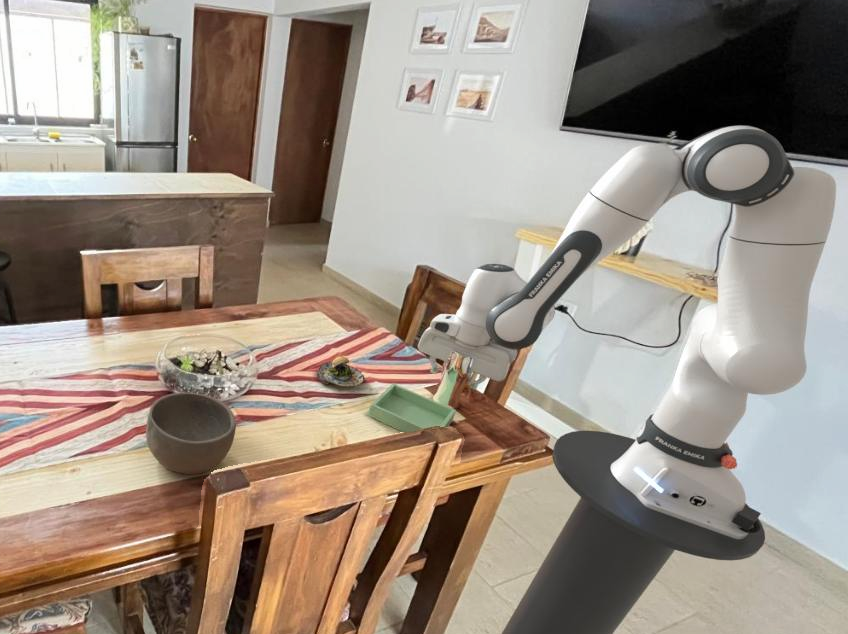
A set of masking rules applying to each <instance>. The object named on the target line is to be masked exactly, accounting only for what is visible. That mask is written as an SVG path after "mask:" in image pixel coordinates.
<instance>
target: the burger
mask: <svg viewBox="0 0 848 634" xmlns="http://www.w3.org/2000/svg"><path fill="white" fill-rule="evenodd" d="M349 363H350V359H349V358H348V357H346V356H343V355H342V356H341V355H339V356H337V357H335V358H334V359H333V360H332V361H329V362H328V361H327V362H325V363H322V364H320V366H319V367H318V371H317V373H316V376H317V378H318V380H319V381H320V382H321V383H322V384H323V385H324V386H327V385H328V384H332V385H334V386H338V387H343V388H346V387H348V388H349V387H350V388H351V387H355V386H360V385H361V384H362V383H363V382H364V381H365V380H366V379H365V378H366V377H365V376H364V374H362V372H361V371H360V370H359V369H358V368H356V367H354V366H351V365H350V364H349ZM348 364H349V365H348Z"/></svg>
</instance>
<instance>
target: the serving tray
mask: <svg viewBox="0 0 848 634" xmlns="http://www.w3.org/2000/svg"><path fill="white" fill-rule="evenodd" d="M456 413H457V409H456V408H455V409H452V408H450V407H447V406H445V405H443V404H440V403H438V402H436V401H434V400H433V399H432V398H429V397H426V396H424V395H422V394H420V393H417V392H415V391H412V390H410V389H407V388H405V387H403V386H401V385H399V384H396V383H394V382H393V383H391V384H390V385H389V386H388V387H387V388H386V389H385V390H384V391H383V392H382V393H381V394H380V395H379V396H378V397H376V399H375V400H374V401H373V402H372V403H371V404H370V407H369V410H368V413H367V416H369V417H370V418H373V419H374V420H376V421H379V422H382V423H383V424H385V425H387V426H389V427H391V428H393V429H396V430H398V431H400V432H402V433H404V434H406V433H410V432H414V431H418V430H421V429H423V428H427V427H433V426H440V427H448V428H449V426H450V425H451V424H452V422H453V421H454V419H455V415H456Z"/></svg>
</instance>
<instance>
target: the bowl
mask: <svg viewBox="0 0 848 634" xmlns="http://www.w3.org/2000/svg"><path fill="white" fill-rule="evenodd" d="M236 428H237V422H236V417H235V414H234V413H233V411H232V410H231V408H230V407H229V406H228V405H227V404H225V403H224V402H222V401H221V400H219V399H217V398H215V397H212V396H210V395H208V394H202V393H199V392H198V393H197V392H190V391H189V392H185V391H181V392H174V393H170V394H166V395H163V396H161V397H159V398H157V400H155V401H154V402H153V403H152V404H151V406H150V408H149V411H148V415H147V418H146V428H145V438H146V445H147V447H148V449H149V451H150V453H151V455H153V457H154V458H155V459H156V461H157V462H158V463H159V464H160V465H161V466H163V467H164V468H165V469H167V470H170V471H172V472H176V473H180V474H186V475H195V474H202V473H206V472H209V471H210V470H212V469H214V468H215V467H218V465H219V464H221V462H222V461H223V460H224V459H225V458H226V456H227V455H228V454H229V452H230V450H231V448H232V445H233V443H234V439H235V435H236Z"/></svg>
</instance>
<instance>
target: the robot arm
mask: <svg viewBox="0 0 848 634" xmlns="http://www.w3.org/2000/svg"><path fill="white" fill-rule="evenodd" d="M784 149H785V148H784V147H783V145H782V144H781V143H780V141H779V140H778V139H777V138H776V137H775V136H773V135H772V134H770V133H768V132H767V131H765V130H763V129H761V128H758V127H755V126H751V125H729V126H722V127H718V128H715V129H711V130H709V131H706V132H704V133H702V134H701V135H699V136H697V137H694V138H693V139H691V140H689V141H687V142H684V143H682V144H681V145H679V146H676V147H675V148H671V147H669V146H665V145H662V144H657V143H646V144H641V145H637V146H635V147H633V148H631V149H630V150H629V151H627V152H626V153H625V154H624V155H623V156H622V157H620V159H618V160H617V161H616V162H615V163H614V164H613V165H612V166H611V167H610V168H609V169H608V170H607V171H606V172H605V173H603V175H602V176H601V177H600V178H599V179H598V180H597V182H596V183H595V184H594V185H593V186H592V188H590V190H589V191H588V192H587V194H585V196H584V197H583V199H582V200H581V202H580V203H579V205H578V206H577V207H576V209H575V211H574V212H573V214H572V215H571V217H570V219H569V221H568V223H567V224H566V226H565V228H564V230H563V232H562V234H561V235H560V237H559V239H558V241H557V243H556V245H555V247H554V248H553V250H552V252H551V253H550V255H549V256H548V258H547V259H546V260H545V261H544V263H542V265H541V266H540V267H539V268H538V269H537V271H536V272H535V273H534V274H533V275H532V277H531V278H530V279H529V280H528V281H525V280H524V279H523V278H522V277H521V276H520V275H519V274H518V272H517V271H516V269H515V268H513V267H512V266H509V265H506V264H500V263H487V264H484V265H480V266H478V267H476V268H475V269H474V270H473V272H472V273H471V276H470V277H469V279H468V281H467V283H466V285H465V288H464V291H463V294H462V296H461V304H460V306H459V308H458V309H457V311H456V313H455V314H454V313H440V314H438V315H436V316H435V317H434V318H433V319H432V320H431V321H430V323H429V324H430V325H429V327H427V329H425V330H424V332H423V333H422V335H421V337H420V339H419V341H418V344H417V349H418V351H419V353H420V352H421V353H422V354H425V355H428V356H429V362H430V363H429V364H430V367H431V368H430V371H429V373H432V374H435V375H437V374H438V373H439V370H440V368H441V366H440V365H438V363H437V359H439V360H440V361H443V362H444V361H446V359H447V357H448V355H449V353H450V351H451V349H453V350H454V351H455V352H457V353H459V354H462V355H465V356H470V357H474V360H473V364H472V367H471V371H472V372H474V373H473V374H476V375H479V376H478V379H477V380H475V379H472V381H471V382H470V384H469V387H468V388H469V389H472V390H474V391H476V390H477V388H478V387H479V385H480V384H482V383H484V382H485V381H486V380H487V378H488V379H490V380H492V381H495V382H498V383H499V382H502V381H504V380H505V379H506V377H507V375H508V372H509V369H510V366H511V363H513V362H514V361H516V358H517V356H518V350H522V349H526V348H529V347H531V346H532V345H533V344H535V343H536V342H537V341H538V339H539V338H540V336H541V334H542V332H544V330H545V329H546V328H547V326H549V324H550V323H551V322H552V320H553V319H554V317H555V314H556V306H555V305H556V303H558V301H559V300H560V299H561V298H562V297H563V296H564V294H565V293H566V292H568V290H569V289H570V288H572V286H573V285H574V284H575V282H576V281H578V280H579V278H581V276H582V275H583V274H586V272H588V271H589V270H590V269H591V268H593V267H594V266H595V265H596V264H598V263H599V262H601V261H603V260H604V259H605V258H607V257H609V256H610V255H612V254H613V253H614V252H616V251H617V250H618V249H620V248H621V247H622V246H623V245H625V244H626V243H627V242H629V241H630V240H632V238H633V237H634V236H636V235H637V234H638V233H639V232H640V231H641V230H642V229H643V228H645V226H646V225H647V224H648V223H649V222H650V221H651V219H652V218H653V217H654V216H655V215H656V214H657V213H658V212H659V210H660V209H661V208H662V207H663V206H664V205H666V203H668V202H669V201H670V200H671V199H673V198H674V197H677V196H678V195H681V194H683V193H687V192H691V191H692V192H695V193H698V194H699V195H701V196H703V197H704V198H708V199H712V200H714V201H719V202H722V203H723V202H724V203H728V204H732V205H734V209H735V210H734V211H735V212H734V220H733V223H732V227H731V229H730V233H729V235H728V239H727V243H726V247H725V251H724V253H723V257H722V260H721V265H720V267H719V271H718V275H717V279H716V282H717V302H715V303H712V304H709V305H707V306H704V307H703V308H702V309H700V310H699V311H697V313H696V314H695V315H694V317H693V318H692V321H691V326H690V332H689V336H688V338H687V341H686V343H685V346H684V348H683V351H682V354H681V356H680V359H679V361H678V365H677V368H676V371H675V374H674V376H673V379H672V381H671V383H670V385H669V387H668V389H667V391H666V393H665V394H664V396H663V398H662V400H661V401H660V402H659V404H658V406H657V408H656V409H655V411H654V413H652V414H650V415H649V416H647V417H648V418H647V419H646V420H645V421H644V422H643V424H642V426H641V427H640V428H639V431H638V432H637V434H636V439H635V440H636V441H635V442H634V443H633V444H632V446H631V447H630V448H629V449H628V450H627V451H626V452H625V453H624V454H623V455H622V456H621V457H620V458H619V459H617V460H616V461H615V462H613V463H612V464H611V472H612V474H613V476H614V477H615V478H616V479H617V481H618V482H619V483H620V484H622V485H623V486H624V487H625V488H626V489H628V490H629V491H630V492H632V493H633V494H634V495H635V496H636V497H637V498H638V499H639V500H640V501H641V502H642V503H643V504H644V505H645V506H646V507H648V508H650V509H652V510H655V511H658V512H661V513H664V514H667V515H669V516H672V517H675V518H678V519H681V520H684V521H686V522H689V523H692V524H695V525H698V526H701V527H703V528H706V529H709V530H712V531H715V532H718V533H721V534H723V535H726V536H729V537H732V538H735V539H743V538H745V537H746V536H747V535H748V533H755V532H758V531H759V530H760V525H759V522H758V521H756V520H757V519H759V517H760V516H761V514H762V513H761V512H759V511H758V510H756V509H754V508H752V507H750V506H749V505H748V506H749V507H748V506H746V505H745V503H746V502H747V501H746V499H747V497H746V492H745V488H744V487H743V486H744V485H742V483H741V481H740V480H739V479H738V478H737V477H736V475H735V474H734V473H733V472H732V470H733V469H736V468H737V467H738V463H737V462H738V461H737V459H736V457H734V456H733V454H734V453H733V450H732V449H731V448H730V445H729V443H728V442H726V441H727V439H728V438H729V437H730V435H731V434H732V432H733V431H734V430H735V429H736V427H737V425H738V424H739V423H740V421H741V420H742V418H743V417H744V415H745V413H746V411H747V401H748V396H749V394H751V395H758V396H767V395H777V394H780V393H783V392H786V391H788V390H790V389H792V388H794V387H795V386H797V385H798V384H800V382H801V381H802V380H803V379H804V377H805V375H806V372H807V360H806V355H805V341H806V340H805V339H806V333H807V324H808V313H809V300H810V292H811V288H812V284H813V281H814V277H815V275H816V272H817V269H818V267H819V263H820V260H821V257H822V254H823V251H824V248H825V245H826V243H827V240H828V237H829V233H830V230H831V226H832V223H833V218H834V214H835V213H834V212H835V207H836V199H837V198H836V197H837V183H836V179H835V178H834V177H833V176H832V175H831V174H830V173H827V172H825V171H824V170H821V169H817V168H815V167H814V168H813V167H808V166H807V167H805V166H792V164H791V162H790V160H789V158H788V156H787V154H786V152H785V150H784ZM752 525H754V527H753V528H751V527H752Z"/></svg>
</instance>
